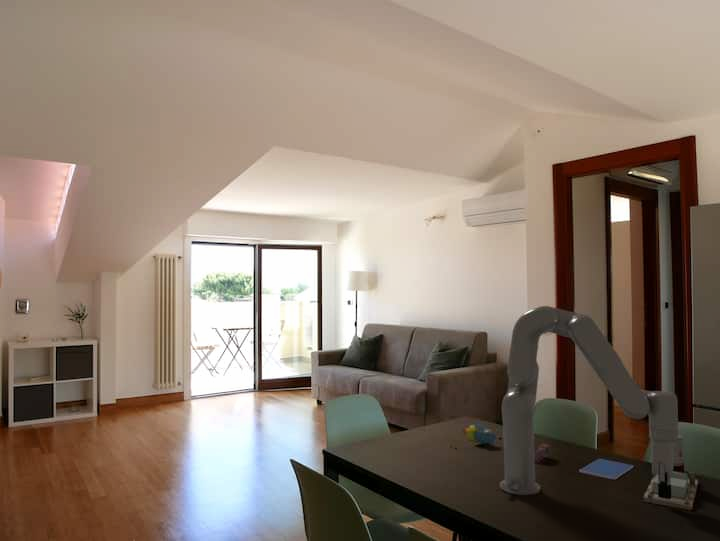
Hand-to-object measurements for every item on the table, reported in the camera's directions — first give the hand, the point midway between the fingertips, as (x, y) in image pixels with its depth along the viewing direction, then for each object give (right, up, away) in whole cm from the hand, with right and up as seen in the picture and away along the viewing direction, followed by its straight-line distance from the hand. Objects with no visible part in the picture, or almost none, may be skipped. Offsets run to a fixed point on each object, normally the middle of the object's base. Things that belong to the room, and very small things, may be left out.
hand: (664, 497), depth 158 cm
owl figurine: (-39, -7, +69) cm, 80 cm away
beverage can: (+12, -2, +17) cm, 21 cm away
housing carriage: (+7, -2, +9) cm, 12 cm away
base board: (+9, -3, +12) cm, 15 cm away
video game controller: (-21, -5, +46) cm, 51 cm away
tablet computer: (-1, -5, +34) cm, 34 cm away
